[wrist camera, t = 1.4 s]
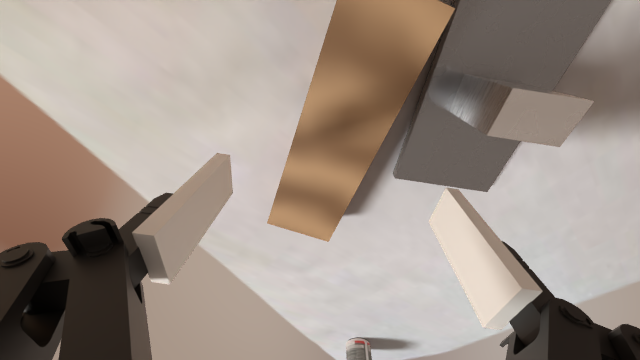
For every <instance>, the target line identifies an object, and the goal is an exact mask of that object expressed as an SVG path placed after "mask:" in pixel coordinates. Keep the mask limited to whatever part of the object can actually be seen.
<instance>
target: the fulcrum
mask: <svg viewBox="0 0 640 360" xmlns="http://www.w3.org/2000/svg"><path fill="white" fill-rule="evenodd" d="M610 2H611V0H455V1H454V4H453V8H455V10H454V12H453V14H452V15H451V17H450V19H449V21H448V23H447V25H446V26H445V29H444V32H443V35H442V38H441V40H440V43H439V46H438V49H437V52H436V54H435V57H434V60H433V63H432V66H431V68H430V71H429V74H428V77H427V80H426V82H425V85H424V88H423V91H422V94H421V96H420V99H419V102H418V105H417V108H416V110H415V113H414V116H413V119H412V121H411V124H410V127H409V130H408V133H407V135H406V138H405V141H404V144H403V147H402V149H401V152H400V155H399V158H398V161H397V163H396V166H395V169H394V172H393V175H394V177H395V178H397V179H404V180H410V181H417V182H424V183H430V184H437V185H444V186H450V187H457V188H464V189H470V190H477V191H484V192H488V190H489V189H490V187H491V185H492V184H493V182H494V181H495V179H496V178H497V176H498V175H499V173H500V172H501V170H502V168H503V167H504V165H505V164H506V162H507V161H508V159H509V158H510V156H511V155H512V153H513V151H514V150H515V148H516V147H517V145H518V144H519V142H520V141H524V142H531V143H537V144H544V145H550V146H557V147H560V146H561V145H562V144H563V142H564V141H565V140H566V138H567V137H568V136H569V134H570V133H571V132H572V130H573V129H574V128H575V126H576V125H577V124H578V122H579V121H580V120H581V118H582V117H583V116H584V114H585V113H586V112H587V110H588V109H589V108H590V107H591V105H592V104H593V103H594V101H592V100H588V99H584V98H580V97H576V96H572V95H568V94H564V93H560V92H556V91H553V90H554V88H555V87H556V85H557V83H558V82H559V80H560V79H561V77H562V76H563V74H564V73H565V71H566V70H567V68H568V66H569V65H570V63H571V62H572V60H573V59H574V57H575V56H576V54H577V53H578V51H579V49H580V48H581V46H582V45H583V43H584V42H585V40H586V39H587V37H588V36H589V34H590V32H591V31H592V29H593V28H594V26H595V25H596V23H597V22H598V20H599V19H600V17H601V15H602V14H603V12H604V11H605V9H606V8H607V6H608V5H609V3H610Z"/></svg>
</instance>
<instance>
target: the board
mask: <svg viewBox="0 0 640 360" xmlns="http://www.w3.org/2000/svg"><path fill="white" fill-rule="evenodd" d="M454 10H455V8H453V7H451V6H449V5H447V4H445V3H443V2H441V1H438V0H337V1H336V5H335V8H334V11H333V14H332V17H331V21H330V24H329V27H328V30H327V33H326V37H325V40H324V43H323V46H322V49H321V53H320V56H319V59H318V62H317V65H316V69H315V72H314V75H313V78H312V81H311V85H310V88H309V91H308V94H307V97H306V101H305V104H304V107H303V110H302V113H301V117H300V120H299V123H298V126H297V129H296V133H295V136H294V139H293V142H292V145H291V149H290V152H289V155H288V158H287V161H286V165H285V168H284V171H283V174H282V177H281V181H280V184H279V187H278V190H277V193H276V197H275V200H274V203H273V206H272V209H271V213H270V216H269V219H268V222H267V223H268V224H271V225H275V226H278V227H281V228H285V229H288V230H291V231H295V232H298V233H301V234H305V235H308V236H311V237H314V238H318V239H321V240H324V241H328V242H329V240H330V238H331V236H332V234H333V232H334V231H335V229H336V227H337V225H338V223H339V221H340V219H341V218H342V216H343V214H344V212H345V210H346V208H347V207H348V205H349V203H350V201H351V199H352V197H353V196H354V194H355V192H356V190H357V188H358V186H359V185H360V183H361V181H362V179H363V177H364V175H365V174H366V172H367V170H368V168H369V166H370V164H371V162H372V161H373V159H374V157H375V155H376V153H377V151H378V150H379V148H380V146H381V144H382V142H383V140H384V139H385V137H386V135H387V133H388V131H389V129H390V128H391V126H392V124H393V122H394V120H395V118H396V117H397V115H398V113H399V111H400V109H401V107H402V105H403V104H404V102H405V100H406V98H407V96H408V94H409V93H410V91H411V89H412V87H413V85H414V83H415V82H416V80H417V78H418V76H419V74H420V72H421V71H422V69H423V67H424V65H425V63H426V61H427V60H428V58H429V56H430V54H431V52H432V50H433V48H434V47H435V45H436V43H437V41H438V39H439V37H440V36H441V34H442V32H443V30H444V28H445V26H446V25H447V23H448V21H449V19H450V17H451V15H452V14H453V12H454Z"/></svg>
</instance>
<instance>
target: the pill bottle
mask: <svg viewBox="0 0 640 360" xmlns="http://www.w3.org/2000/svg"><path fill="white" fill-rule="evenodd" d="M346 354H347V360H372V357H371V348H370V343H369V342H368V341H367V340H365V339H362V338H354V339H350V340H348V341H347V343H346Z"/></svg>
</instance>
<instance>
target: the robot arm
mask: <svg viewBox="0 0 640 360" xmlns="http://www.w3.org/2000/svg"><path fill="white" fill-rule="evenodd" d="M232 193H233V190H232V176H231V163H230V155H226V154H220V153H217V154H216V155H215V156H213V157H212V158H211V159H210V160H209V161H208V162H207V163H206V164H205V165H204V166H203V167H202V168H201V169H200V170H198V171H197V172H196V173H195V174H194V175H193V176H192V177H191V178H190V179H189V180H188V181H187V182H186V183H185V184H183V185H182V186H181V187H180V188H179V189H178V190H177V191H176V192H175V193H174V194H171V193H165V194H163V195H161V196H159V197H156V198H155V199H153V200H152V201H151V202H150V203H149V204H148V205H147V206H146V207H144V208H143V209H142V210H141V211H140V212H139V213H137V214H136V215H135V216H134V217H133V218H132V219H130V220H129V221H128V222H127V223H126V224H125V225H123V226H122V227H121V228H120V229H119V230H118V228H117V225H116V223H115V222H114V221H113V220H111V219H105V218H99V219H92V220H89V221H86V222H82V223H80V224H78V225H76V226H74V227H72V228H71V229H70V230H68V231H67V232H66V233H65V234H64V236H63V237H62V240H63V242H64V243H65V245H66V247H67V248H68V250H67V251H57V252H51V251H50V250H49V248H48V247H47V245H46V244H44V243H40V242H35V243H26V244H22V245H18V246H15V247H12V248H10V249H8V250H5V251H3V252H2V253H0V360H52V359H53V356H54V354H55V352H56V349H57V347H58V345H59V343H60V340H61V347H60V353H59V360H152V355H151V347H150V339H149V331H148V324H147V315H146V308H145V300H144V292H143V285H142V283H141V280H142V279H143V278H144V277H145V276H146V274H147V273H148V275H149V277H150V280H151V282H157V283H164V284H171V282H172V281H173V279H174V278H175V276H176V275H177V273H178V272H179V271H180V269H181V268H182V266H183V265H184V263H185V262H186V260H187V259H188V258H189V256H190V255H191V253H192V252H193V250H194V249H195V247H196V246H197V244H198V243H199V241H200V240H201V239H202V237H203V236H204V234H205V233H206V231H207V230H208V228H209V227H210V225H211V224H212V222H213V221H214V220H215V218H216V217H217V215H218V214H219V212H220V211H221V209H222V208H223V206H224V205H225V203H226V202H227V201H228V199H229V198H230V196H231V195H232ZM429 223H430V225H431V227H432V229H433V231H434V233H435V235H436V237H437V239H438V241H439V243H440V245H441V247H442V249H443V251H444V253H445V255H446V257H447V258H448V260H449V262H450V264H451V266H452V268H453V270H454V272H455V274H456V276H457V278H458V280H459V282H460V284H461V286H462V288H463V290H464V291H465V293H466V295H467V297H468V299H469V301H470V303H471V305H472V307H473V309H474V311H475V313H476V315H477V317H478V319H479V321H480V323H481V324H482V326H483V328H489V329H496V330H502V329H503V328H504V327H505V326H506V325H507V324H508V323H509V322H510V324H511V325H512V327H513V329H514V330H515V331H514V332H513V333H511V334H510V335H509V336H508V337H507V338H506V339H505V340H503V341H502V342H501V344H500V346H501V347H504V346H505V345H506V344H508V350H507V356H506V360H640V329H639V328H637V327H634V326H631V325H628V324H622V325H620V326H619V327H617V328H615V329H614V330H611V329H608V328H605V327H603V326H600V325H598V324H595V323H593V321H592V320H591V319H590V318H589V317H588V316H587V315H586V314H585V313H584V312H583V311H582V310H581V309H579V308H578V307H576V306H575V305H573V304H572V303H569V302H567V301H565V300H563V299H559V298H555V297H554V295H553V294H552V293H551V292H550V291H549V290H548V288H547V287H546V286H545V285H544V284H543V283H542V281H541V280H540V279H539V278H538V277H537V276H536V274H535V273H534V272H533V271H532V270H531V269H529V266H528V265H527V264H526V263H525V262H524V261H522V260H523V259H522V258H521V257H520V256H519V255H518V253H517V252H516V251H515V250H514V249H513V248H511V247H510V246H509V245H507V244H506V243H505V242H503V241H501V240H500V239H499V238H498V237H497V235H496V234H495V233H494V232H493V231H492V229H491V228H490V227H489V226H488V225H487V223H486V222H485V221H484V220H483V219H482V217H481V216H480V215H479V214H478V213H477V211H476V210H475V209H474V208H473V206H472V205H471V204H470V203H469V202H468V200H467V199H466V198H465V197H464V196H463V194H462V193H461V192H460V191H459V190H458V189H452V188H446V189H445V191H444V193H443V195H442V196H441V198H440V200H439V202H438V204H437V206H436V208H435V210H434V212H433V214H432V216H431V218H430V220H429ZM61 338H62V339H61Z"/></svg>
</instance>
